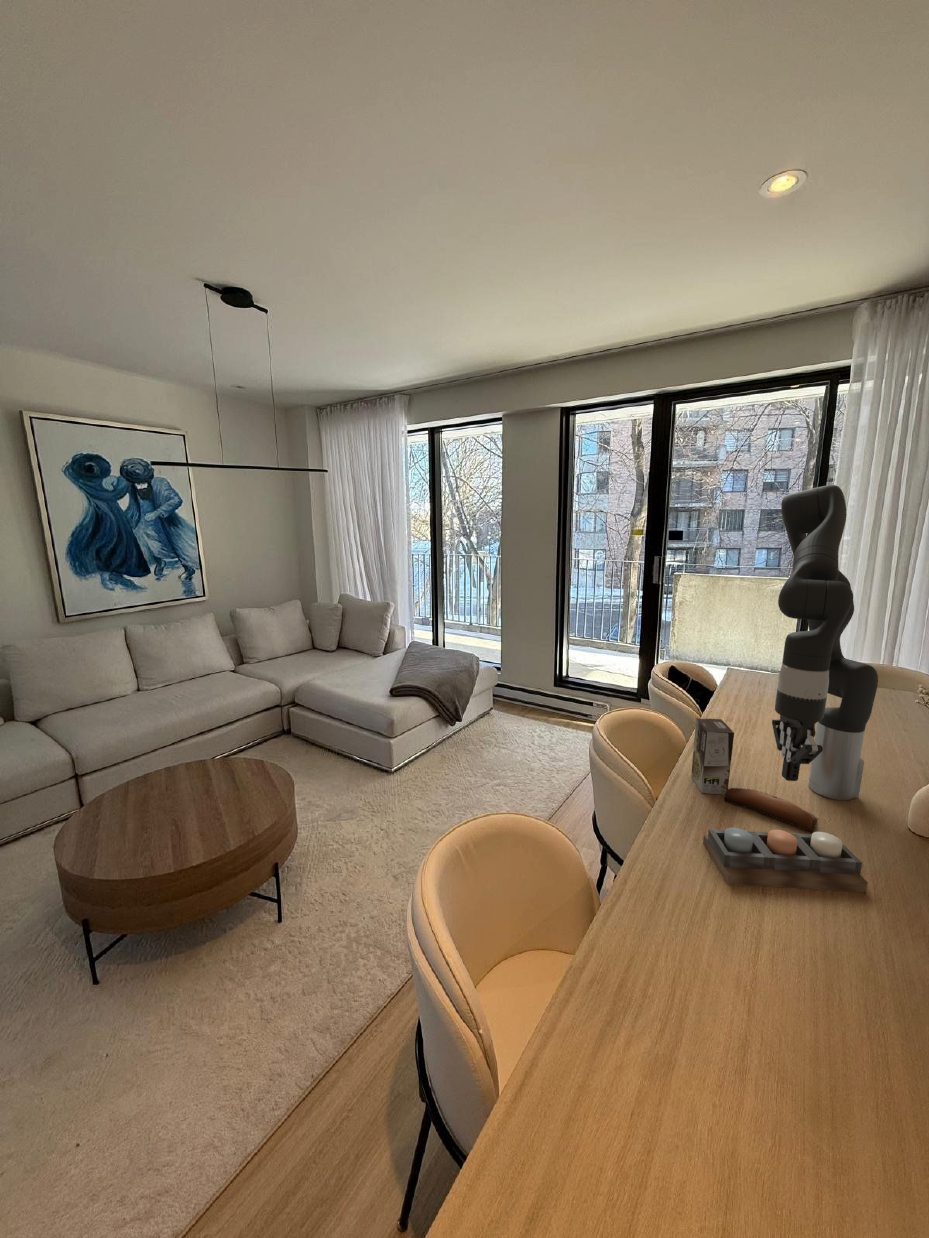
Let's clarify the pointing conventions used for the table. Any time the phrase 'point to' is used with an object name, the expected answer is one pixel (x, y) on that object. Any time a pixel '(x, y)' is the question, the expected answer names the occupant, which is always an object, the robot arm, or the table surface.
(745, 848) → the slate button
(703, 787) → the coffee box
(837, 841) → the cream button
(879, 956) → the table surface
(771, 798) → the sunglasses case
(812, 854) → the gray compartment tray
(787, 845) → the tan rounded oval piece
